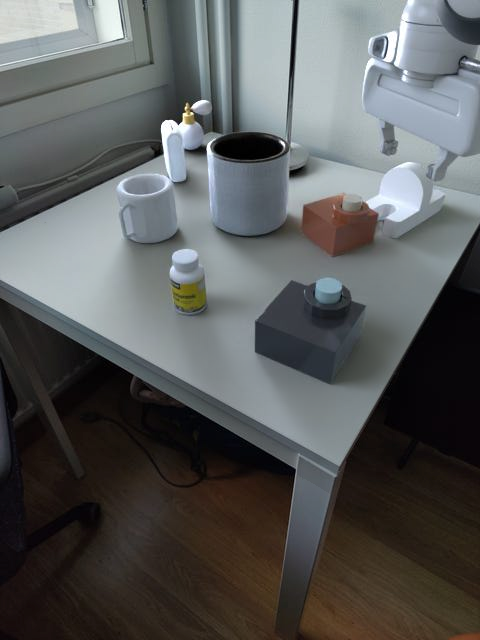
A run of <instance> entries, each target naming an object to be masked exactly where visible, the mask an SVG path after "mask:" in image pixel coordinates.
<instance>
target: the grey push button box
mask: <svg viewBox="0 0 480 640" xmlns="http://www.w3.org/2000/svg"><path fill="white" fill-rule="evenodd" d="M316 283H317V281H315V282H313V283H309V285H308V284H304V283H302V282H299V281H295V280H293V279H291V280H290V281H289V282H288V283H287V284H286V285H285V287H283V288H282V289H281V291H280V292H279V293H278V294H277V295H276V297H274V299H272V301H271V302H270V303H269V304H268V305H267V307H266V308H265V309H264V310H263V311H262V312H261V313H260V315H259V316H258V317H257V318H256V319H254V353H256V354H258V355H260V356H263V357H265V358H268V359H270V360H272V361H275V362H277V363H279V364H282V365H284V366H286V367H288V368H291V369H293V370H295V371H298V372H300V373H303V374H304V375H307V376H309V377H312V378H314V379H316V380H320V381H321V382H324V383H326V384H328V385H331V384H332V383H333V381H334V380H335V378H336V376H337V374H338V373H339V371H340V370H341V368H342V366H343V365H344V363H345V362H346V361H347V359H348V357H349V355H350V354H351V352H352V351H353V349H354V347H355V345H356V344H357V343H358V340H359V339H360V337H361V333H362V328H363V323H364V319H365V314H366V309H367V305H366V304H364V303H360V302H357V301H354V300H353V298H352V294H351V290H349V289H348V288H347V287H346V286H345V285H344V284H342V292H341V298H340V300H339V301H338V302H337V303H335V304H324V303H321V302H319V301H317V300H316V298H315V288H316Z"/></svg>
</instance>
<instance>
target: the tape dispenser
mask: <svg viewBox="0 0 480 640" xmlns="http://www.w3.org/2000/svg"><path fill="white" fill-rule="evenodd" d="M427 172H428V171H427V169H426V167H424V166H423V165H421V164H419V163H418V162H413V161H408V162H407V161H406V162H404V163H401V164H399V165H397V166H396V167H393V168H391V169H390V170H388V171H387V172H386V173H384V175H383V176H382V179H381V182H380V186H379V192H378V194H377V195H375V196H373V197H372V198H370V199H368V200H366V201H364V202H365V203H367V204H368V206H369V208H371V209H372V210H374V211H376V212H377V213H379V215H378V220H377V222H378V221H383V226H382V231H381V234H382V235H384V236H385V237H388V238H390V239H398V238H400V237H401V236H403V235H404V234H406V233H407V232H409V231H410V230H413V229H414V228H415V227H417V226H419V225H420V224H421V223H423V222H425V221H426V220H428V219H429V218H431V217H433V216H434V215H436V214H437V213H439V212H441V211H442V210H441V209H442V207H443V204H444V200H445V196H446V192H445V191H443V190H441V189H437V188H434V181H433V180H431V179H429V178H427V177H426V173H427Z"/></svg>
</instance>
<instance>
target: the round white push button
mask: <svg viewBox="0 0 480 640" xmlns="http://www.w3.org/2000/svg"><path fill="white" fill-rule="evenodd" d="M346 194H347V195H345V196H344V197H343V203H342V209H343V210H345V211H349V212H357V211H360V210H361V205H362V201H363V197H362V196H361V195H360V194H356V193H346Z"/></svg>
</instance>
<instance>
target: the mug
mask: <svg viewBox="0 0 480 640" xmlns="http://www.w3.org/2000/svg"><path fill="white" fill-rule="evenodd" d="M116 196H117V201H118V203H119V207H120V209H119V210H118V218H119V223H120V227H121V232H122V237H123V238H124V239H128V240H131V241H133V242H136V243H142V244H155V243H159V242H164V241H166V240H168V239H170V238H172V237H173V236H174V235H176V233H177V231H178V229H179V222H178V214H177V206H176V197H175V188H174V183H173V181H172V180H171V179H170V177H168V176H165V175H163V174H159V173H142V174H140V173H139V174H136V175H132V176H128V177H126V178H124V179H123V180H121V181H119V183H118V185H117V186H116Z"/></svg>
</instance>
